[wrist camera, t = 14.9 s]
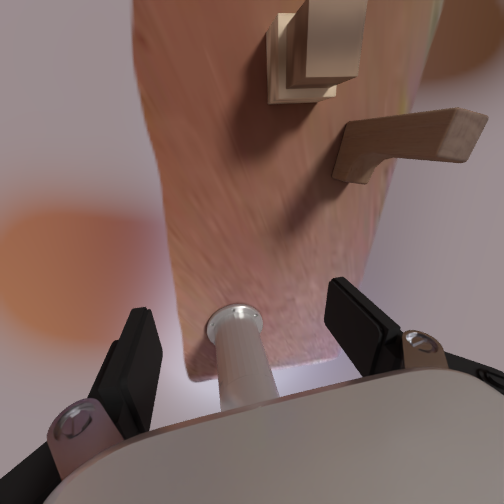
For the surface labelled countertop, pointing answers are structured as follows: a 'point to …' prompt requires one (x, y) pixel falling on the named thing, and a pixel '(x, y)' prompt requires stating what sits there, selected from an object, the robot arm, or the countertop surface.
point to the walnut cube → (324, 43)
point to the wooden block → (407, 140)
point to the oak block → (278, 68)
